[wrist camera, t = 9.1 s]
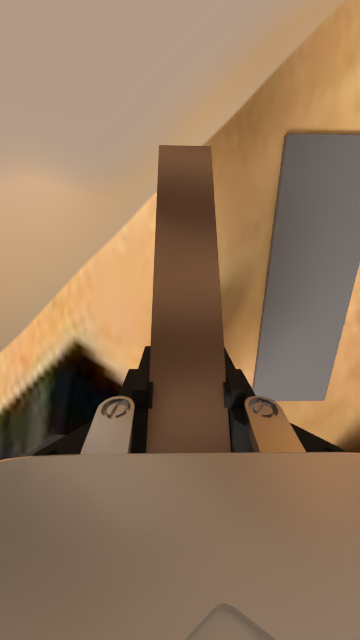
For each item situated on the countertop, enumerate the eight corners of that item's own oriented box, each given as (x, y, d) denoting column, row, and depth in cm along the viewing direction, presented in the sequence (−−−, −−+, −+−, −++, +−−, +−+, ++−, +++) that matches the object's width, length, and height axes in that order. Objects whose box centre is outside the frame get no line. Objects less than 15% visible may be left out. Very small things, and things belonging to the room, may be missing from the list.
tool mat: (284, 136, 20) (287, 133, 20) (386, 137, 20) (391, 135, 20) (251, 398, 29) (252, 401, 29) (322, 398, 30) (324, 400, 29)
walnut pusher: (138, 212, 17) (124, 144, 12) (225, 214, 17) (244, 147, 12) (104, 666, 9) (30, 959, 5) (263, 661, 9) (352, 941, 5)
